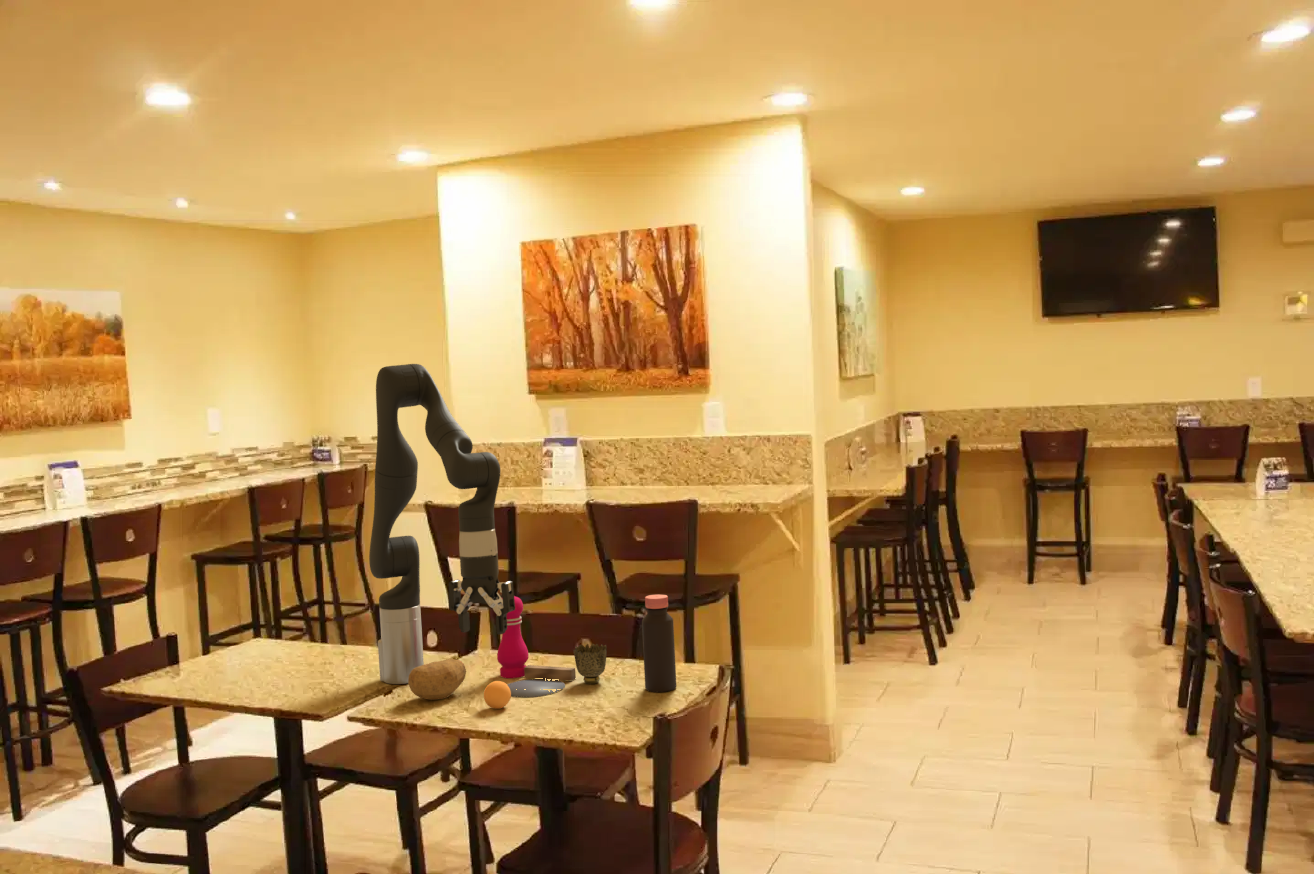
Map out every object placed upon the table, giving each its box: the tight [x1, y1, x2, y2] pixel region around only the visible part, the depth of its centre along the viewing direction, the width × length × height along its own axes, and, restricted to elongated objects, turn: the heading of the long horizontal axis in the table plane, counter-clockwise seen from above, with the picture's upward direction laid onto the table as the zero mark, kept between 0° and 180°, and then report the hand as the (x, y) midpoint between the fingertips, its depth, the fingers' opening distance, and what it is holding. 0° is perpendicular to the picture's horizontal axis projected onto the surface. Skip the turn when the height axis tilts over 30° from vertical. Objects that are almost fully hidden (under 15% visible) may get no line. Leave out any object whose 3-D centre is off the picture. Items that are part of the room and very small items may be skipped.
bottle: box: [641, 593, 677, 693], centre depth 232 cm, size 7×7×20 cm
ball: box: [483, 680, 511, 710], centre depth 224 cm, size 6×6×6 cm
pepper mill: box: [496, 595, 530, 679], centre depth 250 cm, size 7×7×20 cm
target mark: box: [506, 678, 566, 698], centre depth 238 cm, size 14×14×1 cm
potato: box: [407, 658, 467, 701], centre depth 234 cm, size 10×14×8 cm
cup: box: [572, 643, 608, 685], centre depth 240 cm, size 8×7×8 cm
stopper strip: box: [524, 664, 577, 681], centre depth 245 cm, size 12×2×2 cm, turn 68°
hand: (483, 632), depth 217 cm, fingers open, 8 cm apart
